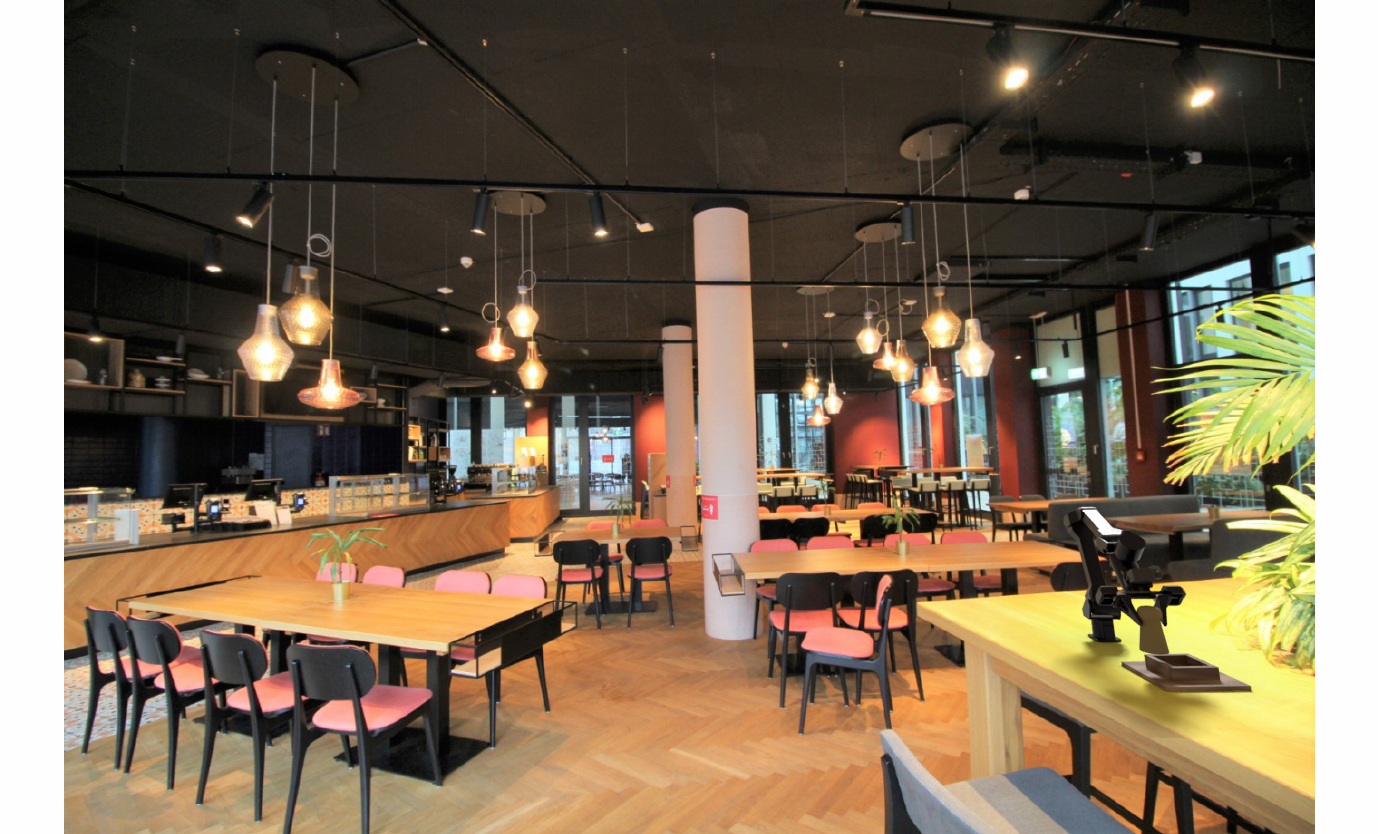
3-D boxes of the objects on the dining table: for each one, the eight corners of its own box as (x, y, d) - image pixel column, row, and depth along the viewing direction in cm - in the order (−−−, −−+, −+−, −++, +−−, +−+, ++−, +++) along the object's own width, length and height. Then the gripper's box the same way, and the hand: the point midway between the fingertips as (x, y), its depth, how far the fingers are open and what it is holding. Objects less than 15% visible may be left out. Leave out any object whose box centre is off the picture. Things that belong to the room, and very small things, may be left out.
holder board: (1121, 665, 155) (1119, 649, 155) (1195, 663, 153) (1193, 648, 153) (1167, 691, 137) (1165, 674, 138) (1251, 690, 135) (1249, 672, 135)
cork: (1176, 652, 144) (1170, 608, 144) (1155, 655, 143) (1149, 610, 144) (1153, 645, 150) (1147, 602, 150) (1132, 648, 149) (1127, 604, 150)
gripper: (1094, 555, 154) (1117, 608, 143) (1177, 554, 149) (1208, 608, 138) (1086, 579, 161) (1108, 631, 150) (1165, 578, 156) (1193, 632, 145)
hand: (1153, 625), depth 145 cm, fingers closed on cork, 5 cm apart
